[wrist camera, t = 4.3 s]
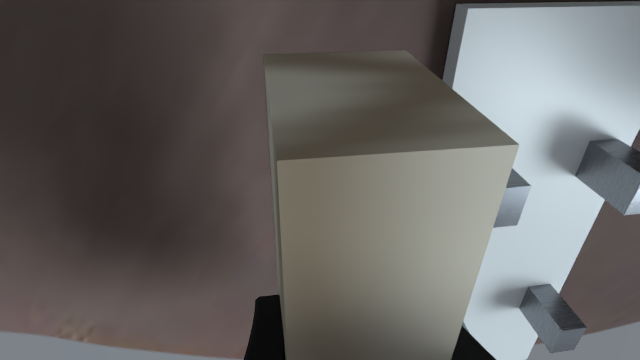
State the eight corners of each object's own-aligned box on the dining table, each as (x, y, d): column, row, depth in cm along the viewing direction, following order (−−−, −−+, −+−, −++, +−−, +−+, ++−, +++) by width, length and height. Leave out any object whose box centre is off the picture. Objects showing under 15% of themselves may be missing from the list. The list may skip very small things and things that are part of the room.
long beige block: (405, 50, 10) (519, 144, 6) (364, 375, 18) (400, 516, 13) (262, 54, 10) (277, 161, 5) (284, 387, 17) (296, 536, 13)
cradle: (678, 0, 17) (788, 21, 14) (518, 347, 30) (554, 402, 27) (456, 3, 16) (516, 28, 12) (390, 365, 29) (410, 426, 25)
